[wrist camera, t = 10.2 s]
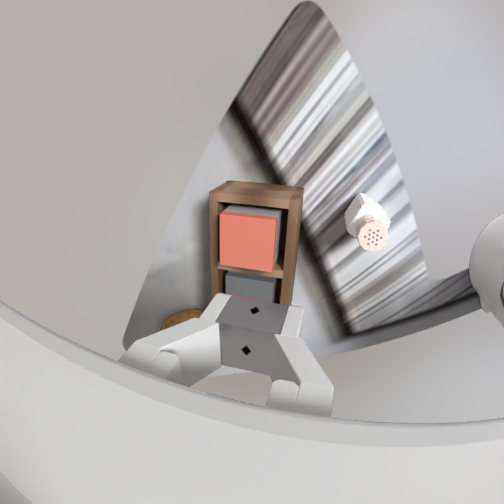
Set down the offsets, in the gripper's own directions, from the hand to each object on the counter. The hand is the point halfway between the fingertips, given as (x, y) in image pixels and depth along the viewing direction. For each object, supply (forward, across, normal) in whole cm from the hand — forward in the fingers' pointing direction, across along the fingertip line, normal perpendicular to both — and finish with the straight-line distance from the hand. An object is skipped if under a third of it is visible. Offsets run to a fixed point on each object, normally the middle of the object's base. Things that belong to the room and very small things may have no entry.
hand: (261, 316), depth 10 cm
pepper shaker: (+30, -6, +4) cm, 31 cm away
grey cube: (+28, +7, +15) cm, 33 cm away
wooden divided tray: (+29, +7, +11) cm, 32 cm away
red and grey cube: (+26, +7, +7) cm, 28 cm away
